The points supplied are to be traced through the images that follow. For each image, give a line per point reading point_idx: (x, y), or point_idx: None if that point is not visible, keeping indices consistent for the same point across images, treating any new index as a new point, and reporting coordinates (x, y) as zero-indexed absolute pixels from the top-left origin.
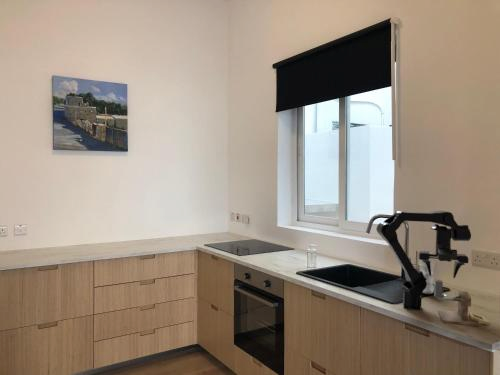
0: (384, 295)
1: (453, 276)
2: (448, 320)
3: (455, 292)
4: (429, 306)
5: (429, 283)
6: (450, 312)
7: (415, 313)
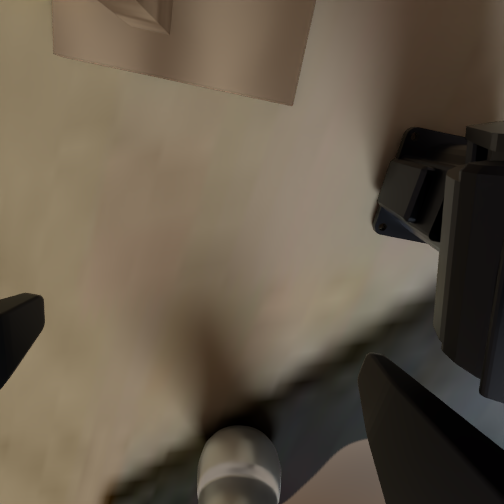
0: None
1: (28, 328)
2: None
3: (82, 471)
4: (305, 225)
5: (228, 485)
6: (217, 61)
7: (476, 42)
